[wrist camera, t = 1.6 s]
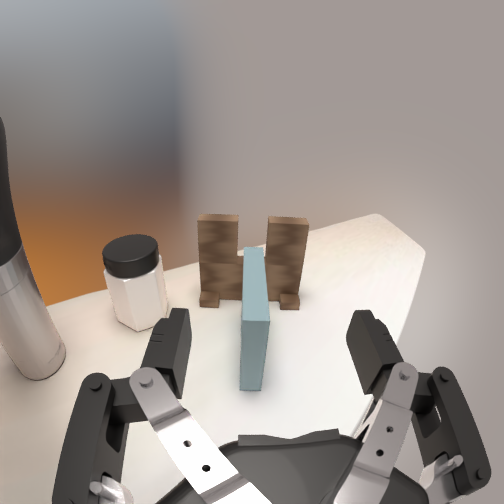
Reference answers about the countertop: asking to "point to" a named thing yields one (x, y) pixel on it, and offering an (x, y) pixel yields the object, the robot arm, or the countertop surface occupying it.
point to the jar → (135, 280)
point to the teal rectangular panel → (253, 320)
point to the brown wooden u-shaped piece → (231, 266)
